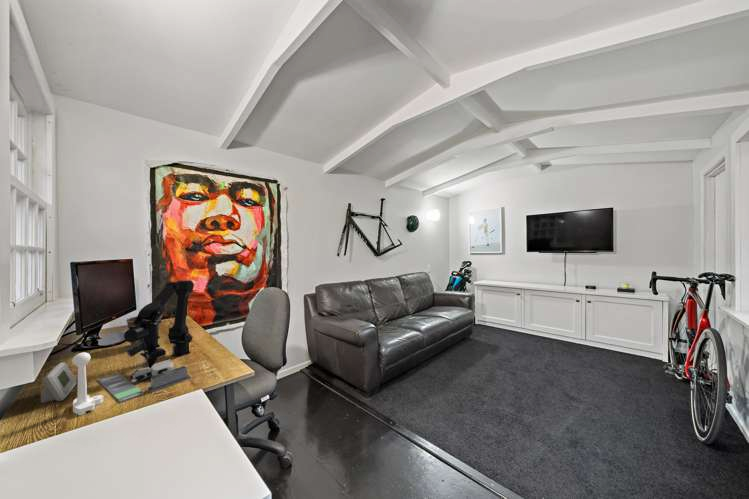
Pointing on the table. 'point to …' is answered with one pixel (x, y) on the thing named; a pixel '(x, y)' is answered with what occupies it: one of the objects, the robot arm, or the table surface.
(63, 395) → the digital clock
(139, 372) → the robot toy
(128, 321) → the plant pot
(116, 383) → the scale strip
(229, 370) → the table surface
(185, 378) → the grey wedge block
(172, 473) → the table surface
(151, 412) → the table surface
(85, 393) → the joystick
